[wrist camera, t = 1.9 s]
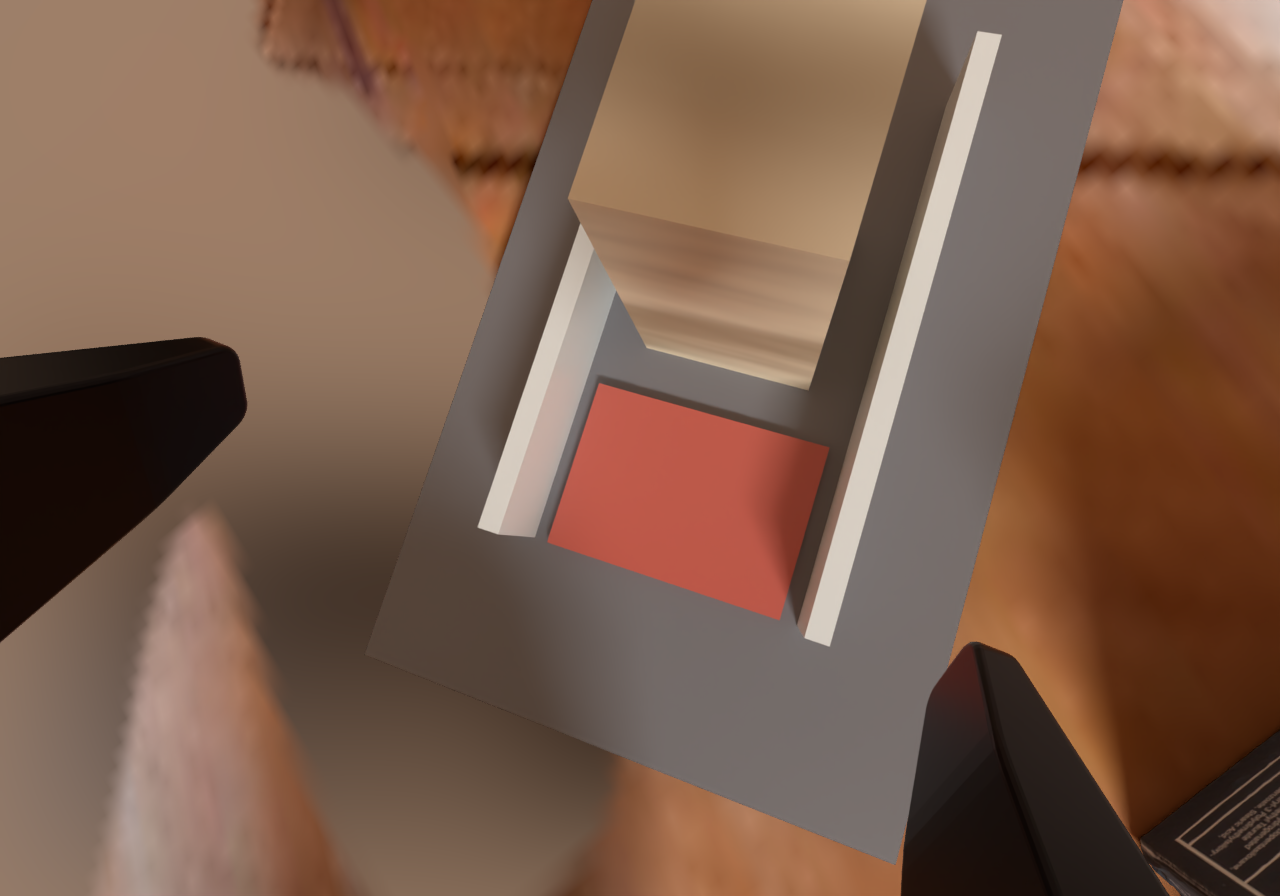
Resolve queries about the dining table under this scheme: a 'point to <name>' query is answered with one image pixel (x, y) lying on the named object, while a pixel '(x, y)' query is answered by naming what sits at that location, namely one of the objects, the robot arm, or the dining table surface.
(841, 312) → the grey railed tray
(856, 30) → the birch block
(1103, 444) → the dining table surface
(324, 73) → the dining table surface
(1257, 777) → the small box
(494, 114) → the dining table surface
